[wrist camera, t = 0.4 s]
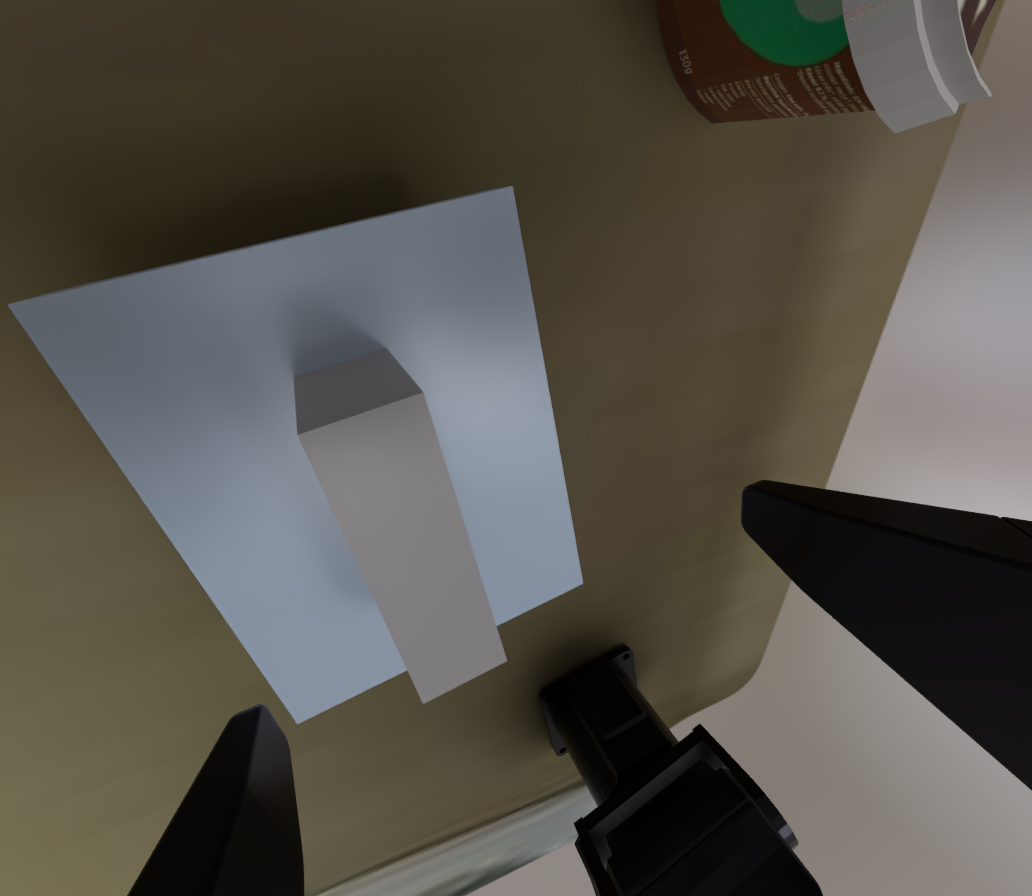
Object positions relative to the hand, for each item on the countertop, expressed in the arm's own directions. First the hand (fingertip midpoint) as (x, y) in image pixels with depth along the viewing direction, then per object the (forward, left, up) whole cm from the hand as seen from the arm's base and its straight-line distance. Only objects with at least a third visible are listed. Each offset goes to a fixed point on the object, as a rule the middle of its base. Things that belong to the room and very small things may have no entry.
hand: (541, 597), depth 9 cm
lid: (-1, +2, -9) cm, 9 cm away
